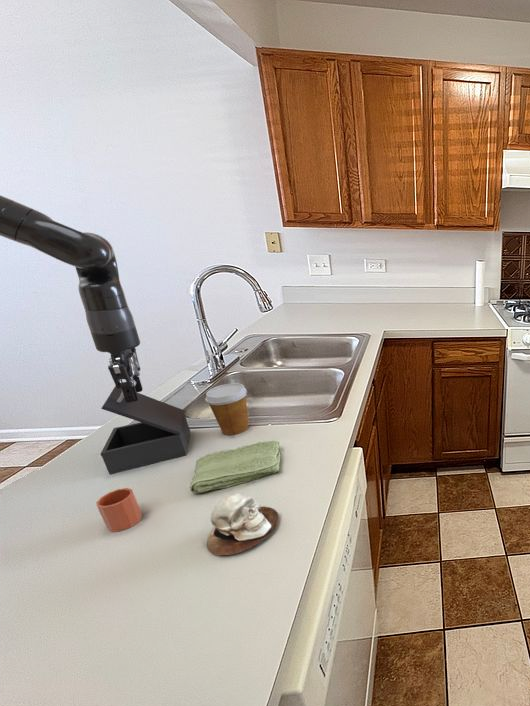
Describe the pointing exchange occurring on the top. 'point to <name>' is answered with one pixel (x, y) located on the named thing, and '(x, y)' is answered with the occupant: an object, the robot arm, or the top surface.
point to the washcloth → (235, 466)
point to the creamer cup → (119, 509)
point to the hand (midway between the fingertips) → (134, 396)
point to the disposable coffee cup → (229, 407)
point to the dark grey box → (143, 446)
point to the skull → (239, 524)
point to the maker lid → (146, 411)
